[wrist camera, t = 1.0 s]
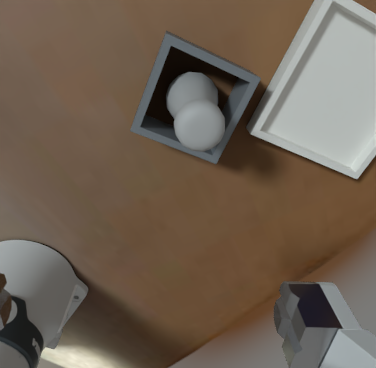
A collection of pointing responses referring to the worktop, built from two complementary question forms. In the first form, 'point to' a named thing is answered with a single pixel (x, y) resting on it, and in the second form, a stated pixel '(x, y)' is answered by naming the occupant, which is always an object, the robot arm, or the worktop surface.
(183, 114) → the salt shaker
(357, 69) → the tray
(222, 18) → the worktop surface
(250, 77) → the hollow square frame
